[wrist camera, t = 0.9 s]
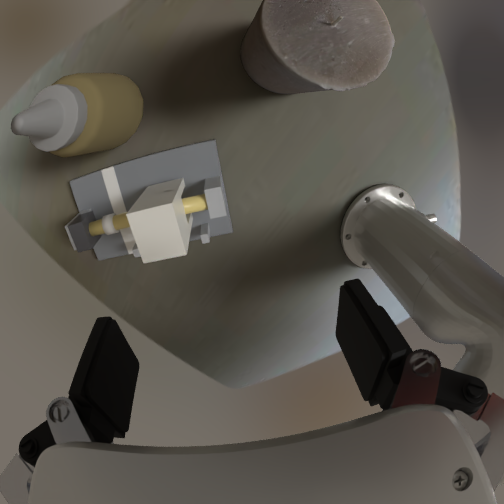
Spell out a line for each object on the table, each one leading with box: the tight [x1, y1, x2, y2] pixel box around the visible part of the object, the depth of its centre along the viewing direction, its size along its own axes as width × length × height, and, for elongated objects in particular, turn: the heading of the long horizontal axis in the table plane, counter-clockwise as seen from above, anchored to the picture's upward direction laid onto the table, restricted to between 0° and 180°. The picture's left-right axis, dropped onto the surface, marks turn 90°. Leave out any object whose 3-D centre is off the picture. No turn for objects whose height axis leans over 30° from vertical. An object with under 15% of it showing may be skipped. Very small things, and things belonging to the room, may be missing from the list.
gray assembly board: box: [65, 139, 233, 260], centre depth 28 cm, size 18×11×6 cm, turn 98°
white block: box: [126, 178, 193, 263], centre depth 26 cm, size 4×5×8 cm
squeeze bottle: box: [11, 73, 143, 157], centre depth 17 cm, size 8×8×18 cm
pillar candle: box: [241, 0, 395, 94], centre depth 18 cm, size 10×10×15 cm
